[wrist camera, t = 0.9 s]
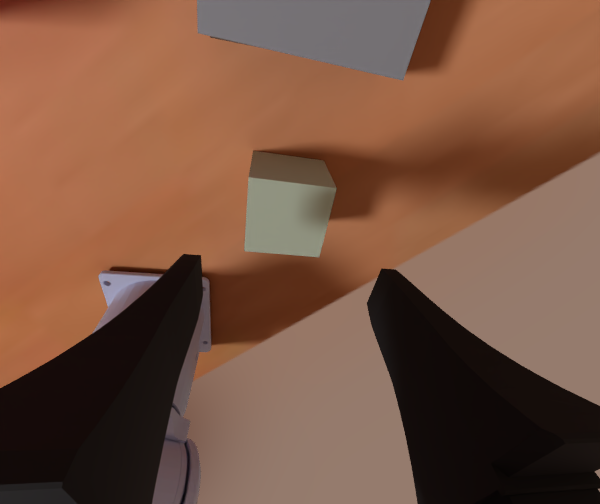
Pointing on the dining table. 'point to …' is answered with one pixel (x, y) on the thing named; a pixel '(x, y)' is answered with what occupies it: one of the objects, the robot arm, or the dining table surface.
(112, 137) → the dining table surface
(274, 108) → the dining table surface
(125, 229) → the dining table surface
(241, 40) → the slate top slab
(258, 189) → the sage cube
